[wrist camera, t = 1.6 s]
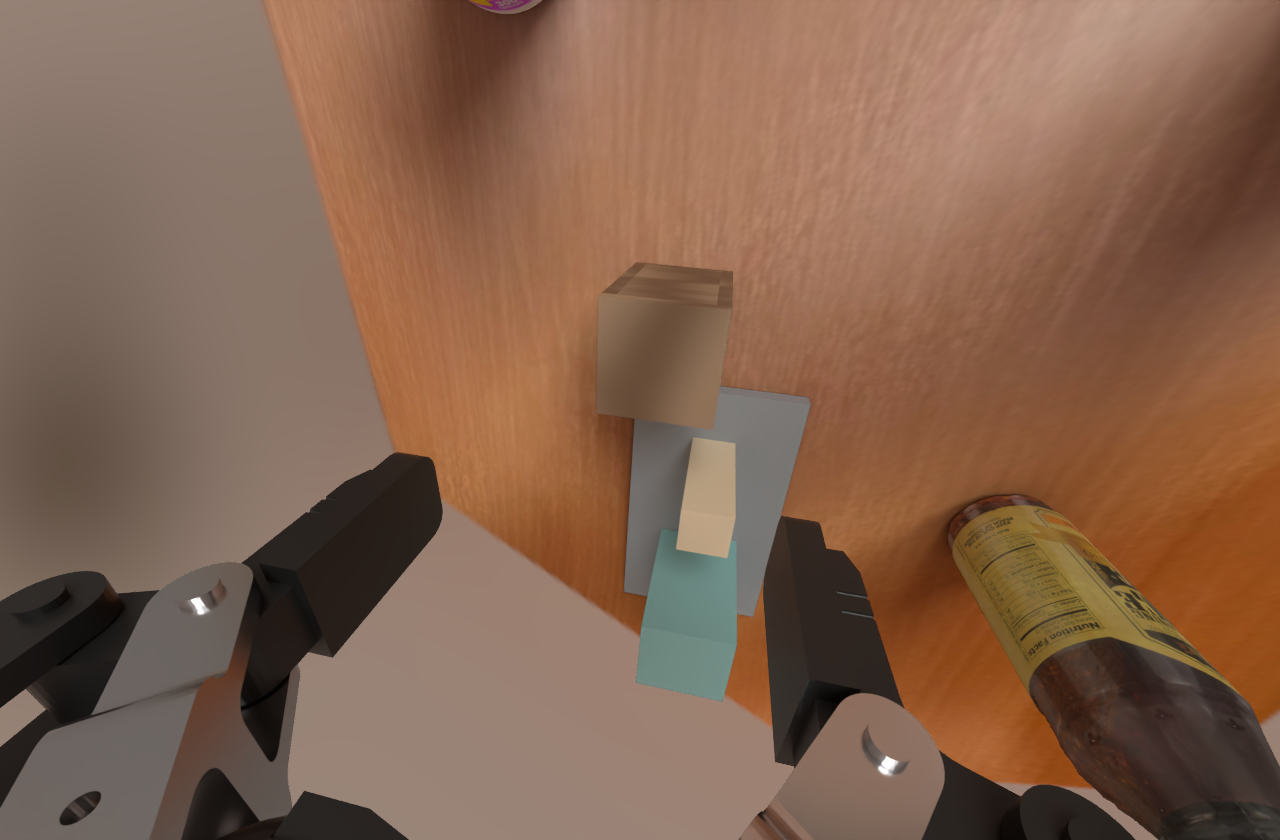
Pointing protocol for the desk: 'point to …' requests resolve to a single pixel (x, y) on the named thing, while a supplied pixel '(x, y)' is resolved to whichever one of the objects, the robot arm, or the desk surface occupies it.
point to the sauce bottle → (1117, 678)
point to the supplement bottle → (505, 5)
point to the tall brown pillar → (663, 344)
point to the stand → (706, 532)
